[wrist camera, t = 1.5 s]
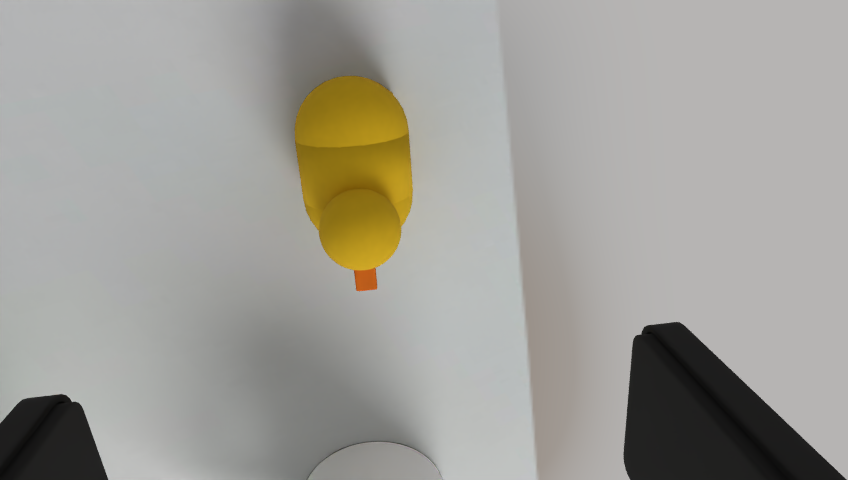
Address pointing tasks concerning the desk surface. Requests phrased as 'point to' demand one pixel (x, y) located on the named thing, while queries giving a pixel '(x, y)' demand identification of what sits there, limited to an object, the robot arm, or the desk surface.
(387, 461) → the mug
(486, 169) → the desk surface
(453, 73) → the desk surface
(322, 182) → the duck
